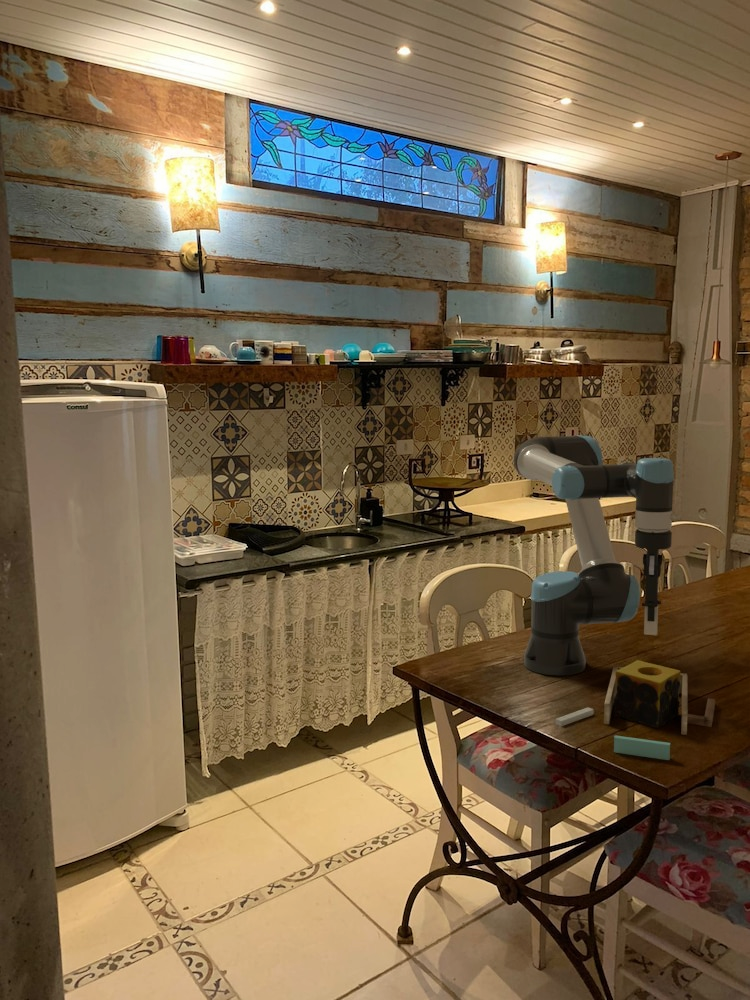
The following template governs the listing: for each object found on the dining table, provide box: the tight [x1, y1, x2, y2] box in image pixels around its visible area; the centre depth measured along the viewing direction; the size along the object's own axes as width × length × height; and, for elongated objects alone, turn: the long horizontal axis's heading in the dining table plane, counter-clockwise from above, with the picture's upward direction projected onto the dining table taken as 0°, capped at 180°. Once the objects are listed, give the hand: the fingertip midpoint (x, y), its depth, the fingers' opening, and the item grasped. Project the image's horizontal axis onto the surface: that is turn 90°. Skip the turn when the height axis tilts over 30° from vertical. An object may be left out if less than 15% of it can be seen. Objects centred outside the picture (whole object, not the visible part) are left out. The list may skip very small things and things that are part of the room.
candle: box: [613, 659, 681, 729], centre depth 166 cm, size 10×10×10 cm
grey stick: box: [555, 707, 595, 727], centre depth 165 cm, size 2×10×2 cm, turn 124°
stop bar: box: [613, 735, 671, 761], centre depth 148 cm, size 10×1×3 cm, turn 68°
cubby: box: [603, 666, 688, 736], centre depth 170 cm, size 16×23×4 cm
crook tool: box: [687, 697, 716, 728], centre depth 166 cm, size 5×12×2 cm, turn 153°
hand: (650, 633), depth 173 cm, fingers closed
